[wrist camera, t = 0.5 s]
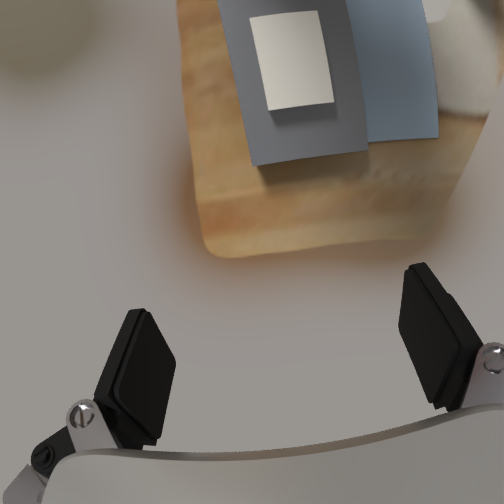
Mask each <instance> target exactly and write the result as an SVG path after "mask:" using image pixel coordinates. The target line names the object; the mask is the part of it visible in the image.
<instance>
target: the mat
mask: <svg viewBox="0 0 504 504" xmlns="http://www.w3.org/2000/svg"><path fill="white" fill-rule="evenodd" d="M345 1H346V5H347V9H348V14H349V18H350V23H351V28H352V32H353V38H354V43H355V48H356V54H357V60H358V66H359V72H360V79H361V86H362V93H363V101H364V109H365V118H366V128H367V138H368V142H377V141H389V140H403V139H419V138H439V126H438V107H437V94H436V83H435V74H434V66H433V58H432V51H431V45H430V39H429V33H428V28H427V23H426V18H425V13H424V9H423V5H422V0H345Z"/></svg>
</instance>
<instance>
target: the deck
mask: <svg viewBox="0 0 504 504" xmlns="http://www.w3.org/2000/svg"><path fill="white" fill-rule="evenodd" d="M217 2H218V7H219V11H220V15H221V20H222V24H223V29H224V33H225V38H226V42H227V47H228V51H229V56H230V61H231V65H232V70H233V75H234V79H235V84H236V89H237V93H238V98H239V103H240V108H241V112H242V117H243V122H244V127H245V132H246V137H247V141H248V146H249V151H250V156H251V161H252V166H259V165H265V164H271V163H277V162H283V161H289V160H296V159H303V158H310V157H317V156H324V155H332V154H340V153H349V152H358V151H368V138H367V128H366V118H365V109H364V101H363V93H362V86H361V79H360V72H359V66H358V60H357V54H356V48H355V43H354V38H353V32H352V28H351V23H350V18H349V14H348V9H347V5H346V1H345V0H217ZM316 10H317V12H318V16H319V21H320V25H321V30H322V35H323V40H324V45H325V50H326V55H327V61H328V66H329V72H330V78H331V84H332V91H333V97H334V102H331V103H321V104H312V105H304V106H296V107H289V108H282V109H276V110H268V108H267V102H266V97H265V92H264V87H263V82H262V77H261V72H260V67H259V62H258V58H257V53H256V48H255V44H254V39H253V34H252V30H251V25H250V19H249V18H252V17H259V16H266V15H273V14H281V13H291V12H302V11H316Z"/></svg>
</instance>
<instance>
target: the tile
mask: <svg viewBox="0 0 504 504" xmlns="http://www.w3.org/2000/svg"><path fill="white" fill-rule="evenodd" d="M249 19H250V25H251V30H252V34H253V39H254V44H255V48H256V53H257V58H258V62H259V67H260V72H261V77H262V82H263V87H264V92H265V97H266V102H267V108H268V110H276V109H282V108H289V107H296V106H304V105H312V104H321V103H331V102H334V97H333V91H332V84H331V78H330V72H329V66H328V61H327V55H326V50H325V45H324V40H323V35H322V30H321V25H320V21H319V16H318V12H317V10H316V11H302V12H291V13H281V14H273V15H266V16H259V17H252V18H249Z"/></svg>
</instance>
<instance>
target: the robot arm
mask: <svg viewBox="0 0 504 504" xmlns="http://www.w3.org/2000/svg"><path fill="white" fill-rule="evenodd" d="M398 325H399V326H398V327H399V332H400V335H401V337H402V339H403V341H404V343H405V346H406V348H407V351H408V352H409V355H410V358H411V360H412V362H413V365H414V367H415V370H416V372H417V375H418V377H419V380H420V382H421V385H422V387H423V390H424V392H425V395H426V397H427V400H428V402H429V403H433V405H434V407H435V409H439V408H442V407H446V410H447V411H448V413H444V414H441V415H438V416H434V417H431V418H428V419H425V420H421V421H418V422H415V423H411V424H407V425H404V426H400V427H396V428H392V429H389V430H385V431H381V432H377V433H372V434H368V435H363V436H359V437H354V438H349V439H344V440H339V441H333V442H327V443H321V444H314V445H307V446H300V447H292V448H283V449H273V450H261V451H245V452H221V453H189V452H163V451H145V450H142V449H143V445H151V446H156V442H157V439H159V438H160V437H161V434H162V429H163V424H164V419H165V414H166V409H167V404H168V400H169V395H170V390H171V385H172V381H173V376H174V372H175V368H176V361H175V358H174V356H173V354H172V352H171V350H170V349H169V347H168V345H167V343H166V341H165V339H164V337H163V336H162V334H161V332H160V330H159V328H158V326H157V324H156V323H155V321H154V319H153V317H152V315H151V313H150V312H147V311H146V310H145V309H143V308H142V309H133V310H129V311H128V313H127V315H126V318H125V320H124V322H123V324H122V327H121V329H120V331H119V333H118V336H117V338H116V341H115V343H114V345H113V348H112V350H111V352H110V355H109V357H108V360H107V362H106V365H105V367H104V370H103V372H102V375H101V377H100V380H99V382H98V385H97V388H96V390H95V393H94V396H95V397H94V399H93V401H92V400H89V399H83V400H80V401H78V402H76V403H75V404H74V405H73V406H72V407H71V408H70V409H69V411H68V413H67V417H66V424H67V426H66V427H64V428H62V429H61V430H59V431H58V432H56V433H55V434H53V435H52V436H51V437H49V438H47V439H46V440H44V441H43V442H41V443H40V444H39V445H37V446H36V447H35V449H34V450H33V452H32V455H31V464H32V465H31V466H30V465H28V464H27V465H26V467H25V468H24V469H23V470H22V471H21V472H20V473H19V475H18V476H17V477H16V478H15V479H14V481H13V482H12V483H11V484H10V485H9V486H8V487H7V489H6V490H5V492H4V494H3V504H504V345H503V344H500V343H495V342H493V343H487V344H485V345H483V343H482V341H481V339H480V338H479V336H478V335H477V333H476V331H475V330H474V328H473V327H472V325H471V323H470V322H469V320H468V319H467V317H466V316H465V314H464V313H463V311H462V310H461V308H460V307H459V305H458V304H457V302H456V301H455V299H454V298H453V297H452V296H451V295H450V294H449V293H447V292H446V291H445V289H444V288H443V287H442V285H441V284H440V282H439V281H438V279H437V278H436V277H435V275H434V274H433V272H432V271H431V270H430V268H429V267H428V266H427V264H426V263H424V262H422V263H417V264H412V265H410V266H409V268H408V270H406V271H405V273H404V282H403V292H402V301H401V309H400V316H399V324H398Z"/></svg>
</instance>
